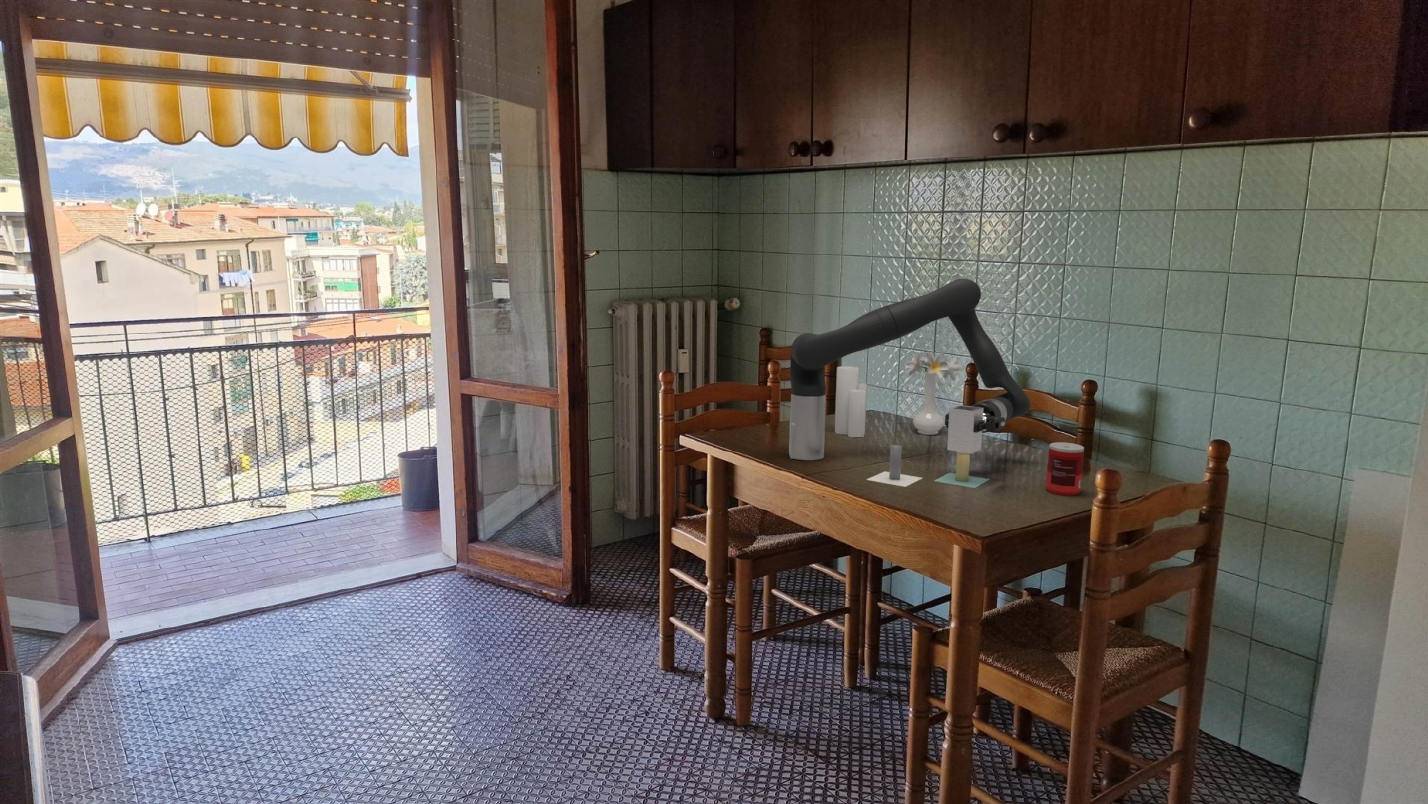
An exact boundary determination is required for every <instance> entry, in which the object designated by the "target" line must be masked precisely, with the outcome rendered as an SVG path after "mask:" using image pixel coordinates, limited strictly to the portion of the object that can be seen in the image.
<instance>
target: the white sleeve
mask: <svg viewBox="0 0 1428 804" xmlns="http://www.w3.org/2000/svg"><path fill="white" fill-rule="evenodd" d="M948 413H949V427H948V429H947V449H946V450H947V451H950V452H951V451H952V452H956V453H957V452H964V453H970V455H971V454H975V453H976V452H978V451H980V450H982V442H983V441H982V439H983V433H982V431H980V432H978V433H975V432H974V424H975V423H977V422H979V421H982V419H983V408H981V407H973V406H972V405H965V404H964V405H963V404H957V405H955V406H952V407H950V408H949V411H948Z"/></svg>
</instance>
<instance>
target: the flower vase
mask: <svg viewBox="0 0 1428 804" xmlns="http://www.w3.org/2000/svg"><path fill="white" fill-rule="evenodd" d="M920 355H921V354H920V353H919V352H918V351H915V353H914V356H913V360H908V361H907V362H906V367H907V369H909V370H908V371H907V372H906V375H909V376H913V374H915V373H916V372H918V373H921V372H922V370H923V369H924V371H923V374H924V380H925V389H924V390H925V391H924V400H923V404H922V407H921V409H920V410H919V412H918V413H917V414H916V415H914V417H913V419H912V424H913V426H914V428H916V429H917V434H918V433H919V434H921V435H926V436H932V435H938V434H939V431H940V430H941V429H943V427H945V419H944V417H943V416H942V415H941V414H940V413H939V411H938V408H937V405H936V387H937V386H936V385H937V384H936V383H937V380H938V378H939V379H941V380H942V379H943V378H944V379H945V378H947V377H948V376H949V378H950V379H951V380H952V381H956V379H957V377H956V373H955V372H959V371H961V370H962V368H963V366H962V365H961V364H956V363H957V359H958V358H957V356H953V357H952V359H951V360H950V362H949V361H946V360H943V358H944V356H945V355H944V353H942V352H940V353H937V355H936V356H934V354H933V353H932V352H931V351H926V356H922V357H921V356H920ZM920 357H921V358H920Z"/></svg>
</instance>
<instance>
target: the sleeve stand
mask: <svg viewBox="0 0 1428 804" xmlns="http://www.w3.org/2000/svg"><path fill="white" fill-rule="evenodd" d="M902 448H903V446H902V445H898V444H892V445H890V451H889V452H890V454H889V471H885V470H884V471H883V472H880V473H878V474H876V475H873V476H871V477H869V478H866V481H870V482H876V483H880V484H881V483H882V484H888V485H894V486H898V487H904V488H907V487H908V486H910V485H912V484H913V483H916V482H918V481H920V480H922V479H923V477H919V476H913V475H907V474H903V473H901V471H902V451H903V449H902Z"/></svg>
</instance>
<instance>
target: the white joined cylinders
mask: <svg viewBox="0 0 1428 804" xmlns="http://www.w3.org/2000/svg"><path fill="white" fill-rule="evenodd" d="M859 370H860V369H859V367H857V366H849V365H848V366H847V365H846V366H845V365H843V366H837V367H836V384H835V385H836V386H835V387H836V388H835V389H836V390H835V413H834V417H835V418H834V433H835V434H838V435H843V434H844V435H847V437H849V438H853V437H863V438H864V437H865V433H866V418H867V416H866V412H867V395H868V394H867V392H868V391H867V389H868V384H867V383H866V382H865V383H863V382H859V372H860V371H859ZM844 435H843V436H844Z"/></svg>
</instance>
